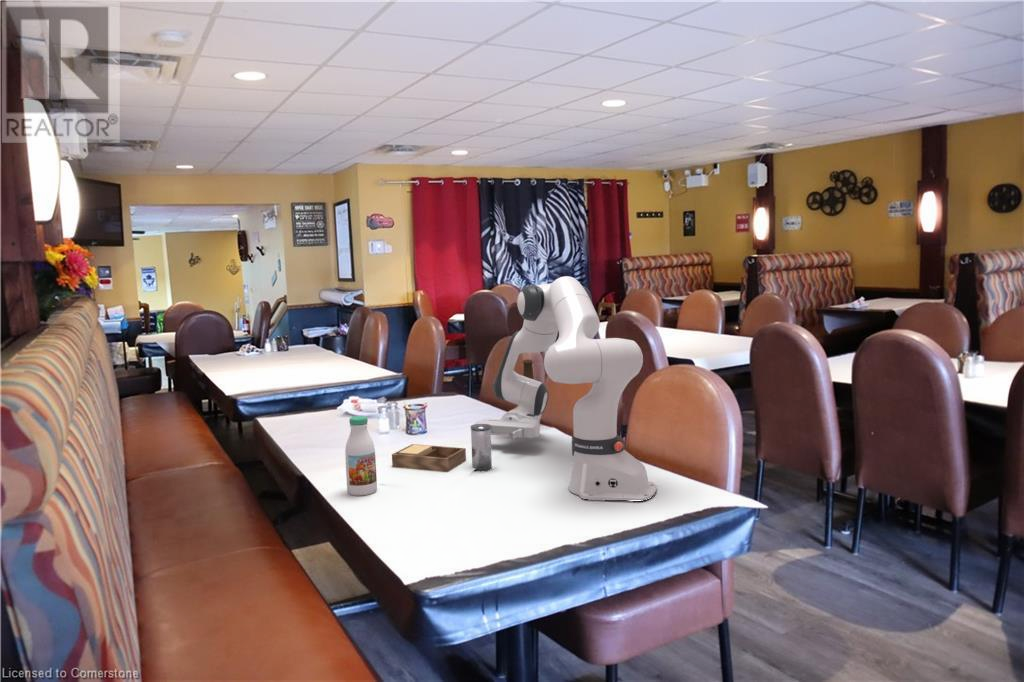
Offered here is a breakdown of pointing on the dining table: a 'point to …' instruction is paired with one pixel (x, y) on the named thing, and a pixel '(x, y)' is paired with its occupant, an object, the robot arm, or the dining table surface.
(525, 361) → the beer bottle
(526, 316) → the robot arm
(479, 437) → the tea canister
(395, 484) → the dining table surface
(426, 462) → the caddy
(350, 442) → the milk bottle
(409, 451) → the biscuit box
